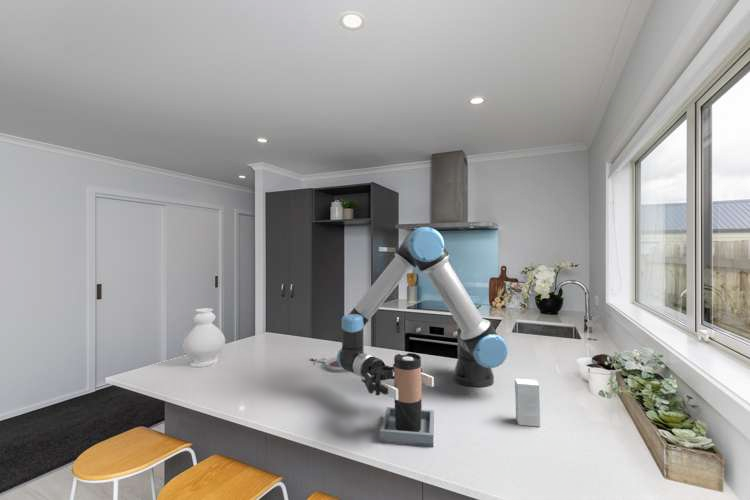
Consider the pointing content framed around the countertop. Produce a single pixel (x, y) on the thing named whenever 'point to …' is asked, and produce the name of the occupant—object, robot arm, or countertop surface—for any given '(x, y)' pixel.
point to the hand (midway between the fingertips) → (416, 388)
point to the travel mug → (408, 392)
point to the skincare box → (527, 402)
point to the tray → (407, 437)
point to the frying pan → (330, 364)
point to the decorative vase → (204, 340)
